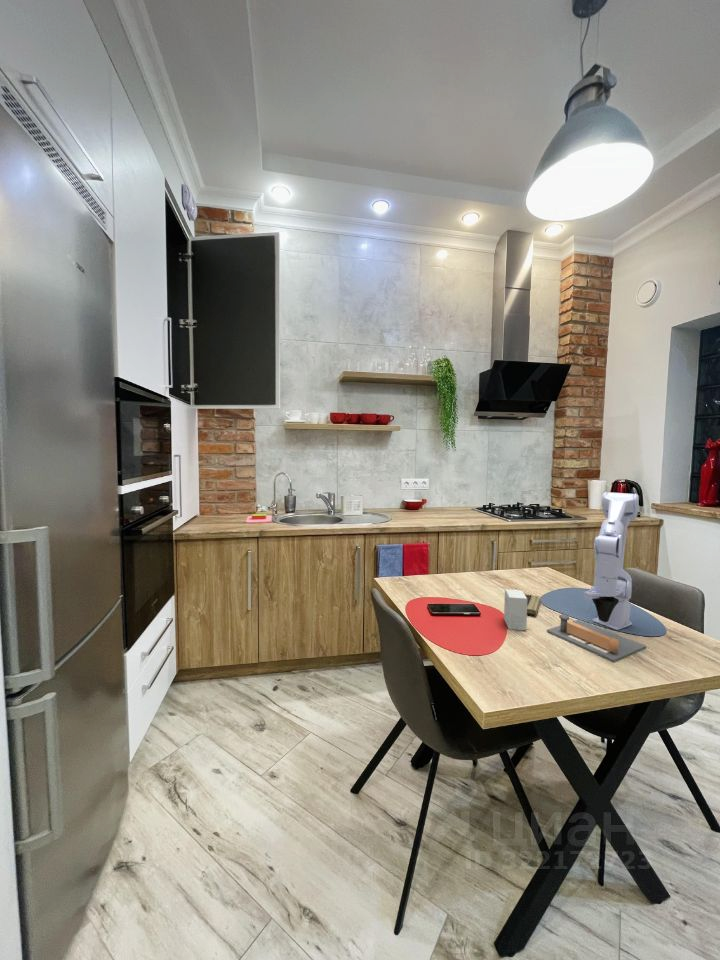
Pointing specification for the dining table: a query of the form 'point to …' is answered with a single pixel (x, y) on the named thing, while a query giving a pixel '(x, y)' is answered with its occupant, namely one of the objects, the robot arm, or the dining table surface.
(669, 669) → the dining table surface
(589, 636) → the swing bar
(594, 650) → the board
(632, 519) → the robot arm
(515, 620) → the small box
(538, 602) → the brown flat block
